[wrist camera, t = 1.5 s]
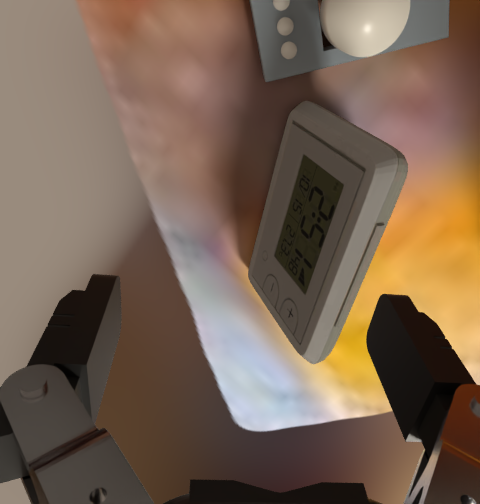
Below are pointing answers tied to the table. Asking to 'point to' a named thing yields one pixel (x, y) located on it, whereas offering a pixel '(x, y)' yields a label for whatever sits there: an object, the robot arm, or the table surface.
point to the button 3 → (363, 24)
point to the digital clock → (322, 224)
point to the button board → (310, 37)
